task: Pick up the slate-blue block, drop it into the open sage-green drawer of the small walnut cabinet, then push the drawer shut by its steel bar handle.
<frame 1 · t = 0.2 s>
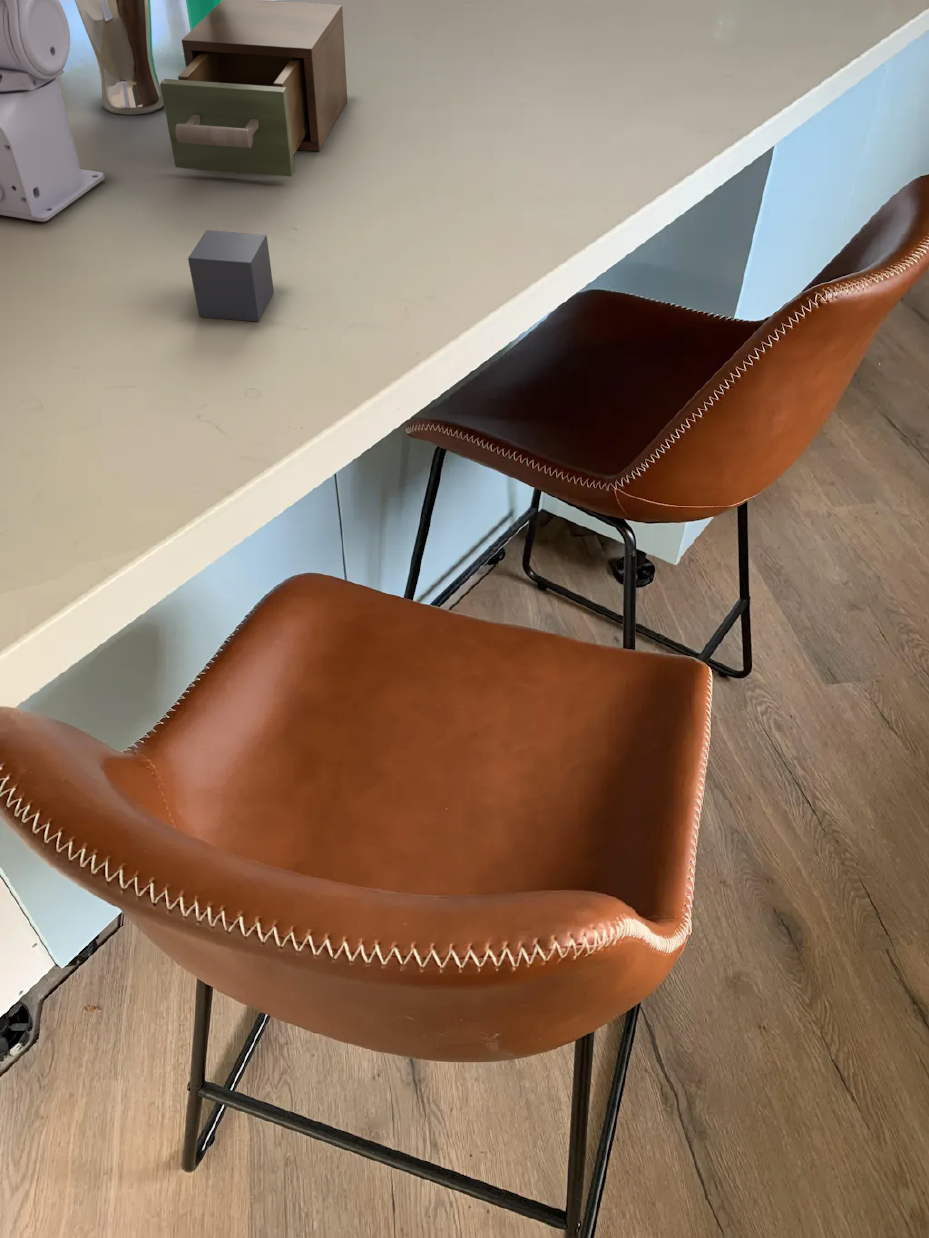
candle: (224, 67, 105), on the countertop
beige cup: (135, 106, 96), on the countertop
block: (237, 304, 69), on the countertop
drawer: (240, 113, 84), point 4 cm above the countertop, slide at 7.0 cm
cabinet: (276, 120, 94), on the countertop
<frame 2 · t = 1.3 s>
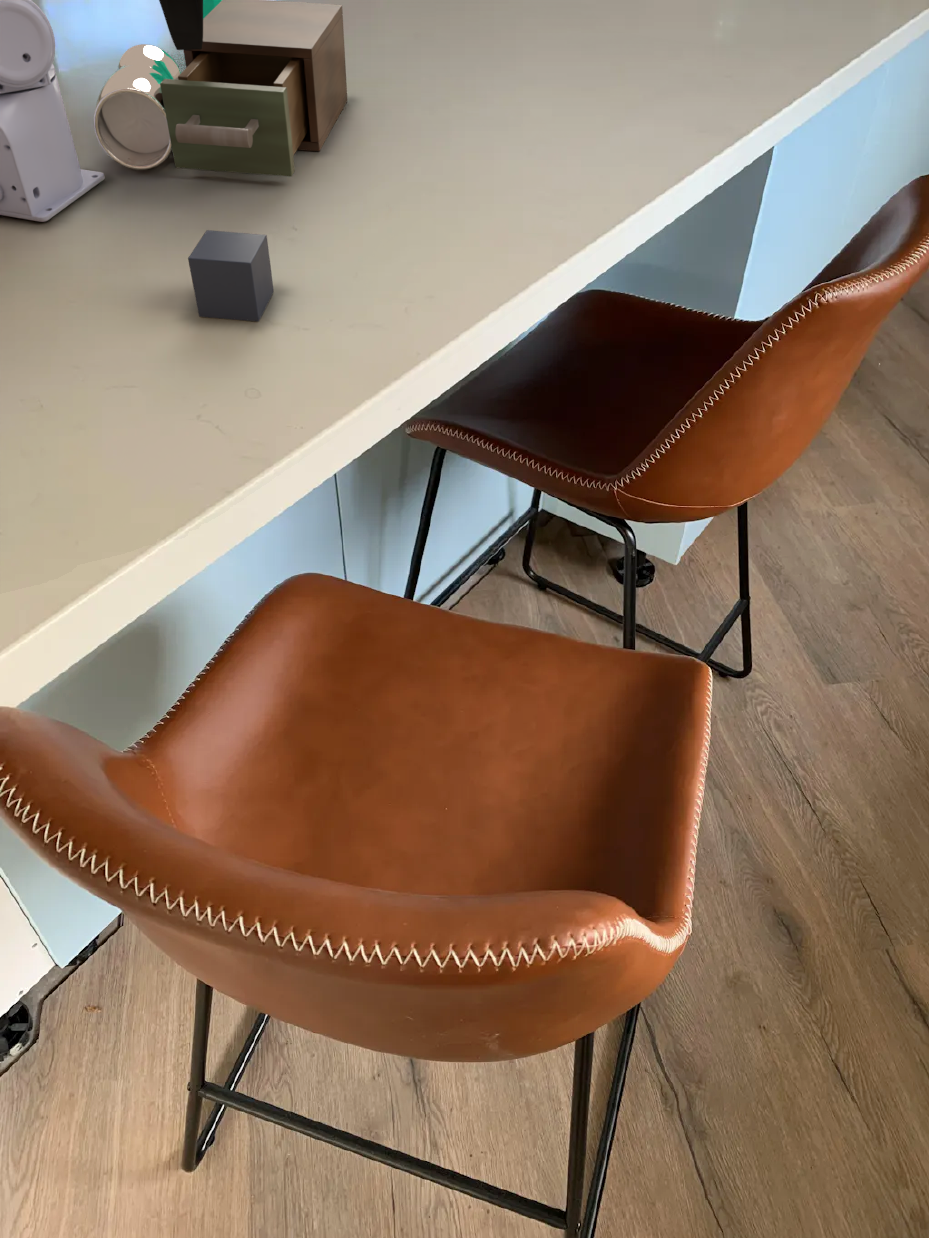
hand: (187, 34, 81), 10 cm above the countertop, tool pointing down, fingers open, 7 cm apart
beige cup: (150, 78, 93), point 3 cm above the countertop, touching drawer
drawer: (240, 113, 84), point 4 cm above the countertop, slide at 7.0 cm, touching beige cup
everything else where it was.
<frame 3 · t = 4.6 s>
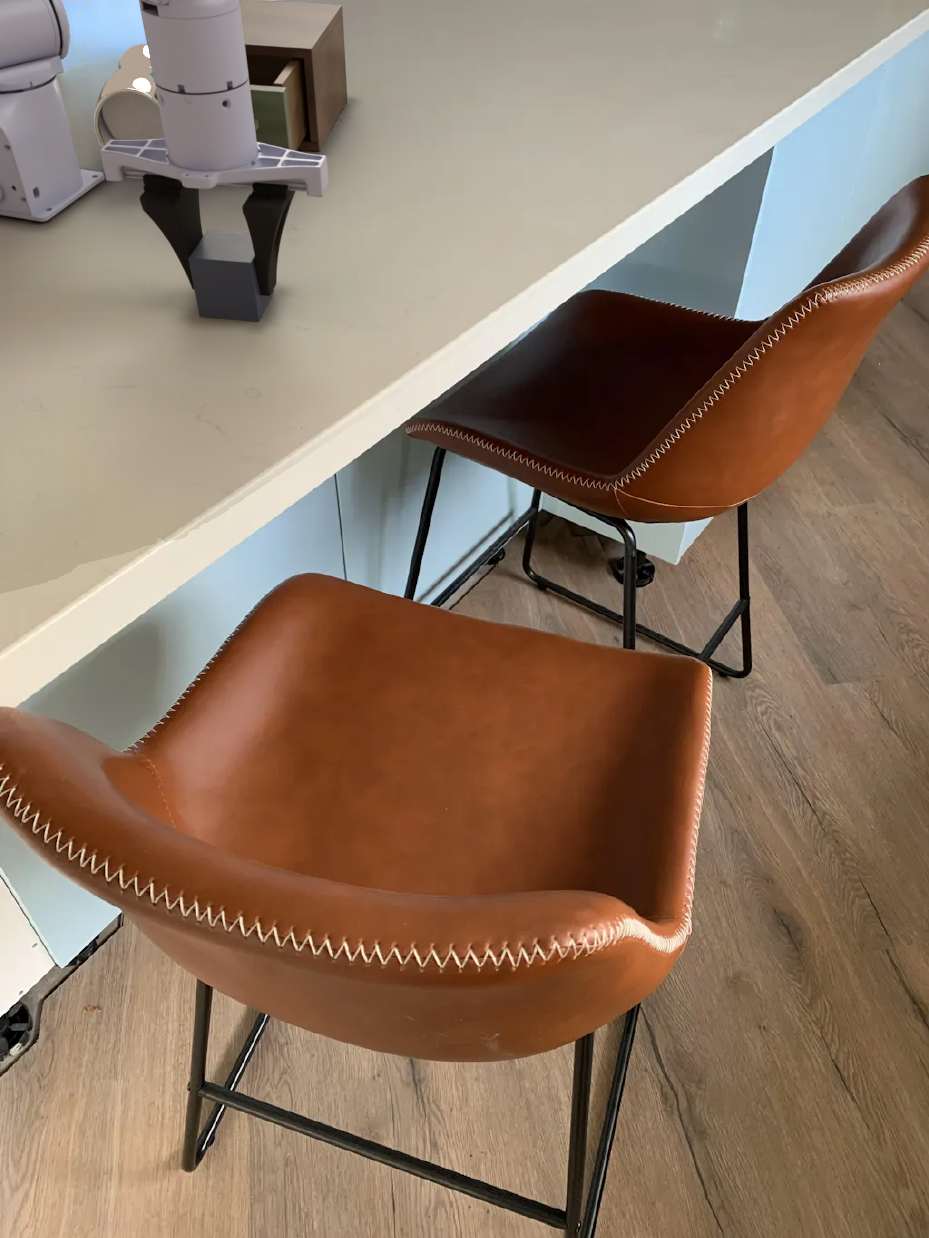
hand: (234, 286, 68), 1 cm above the countertop, tool pointing down, fingers closed on block, 4 cm apart
block: (237, 304, 69), on the countertop, touching gripper
everything else where it was.
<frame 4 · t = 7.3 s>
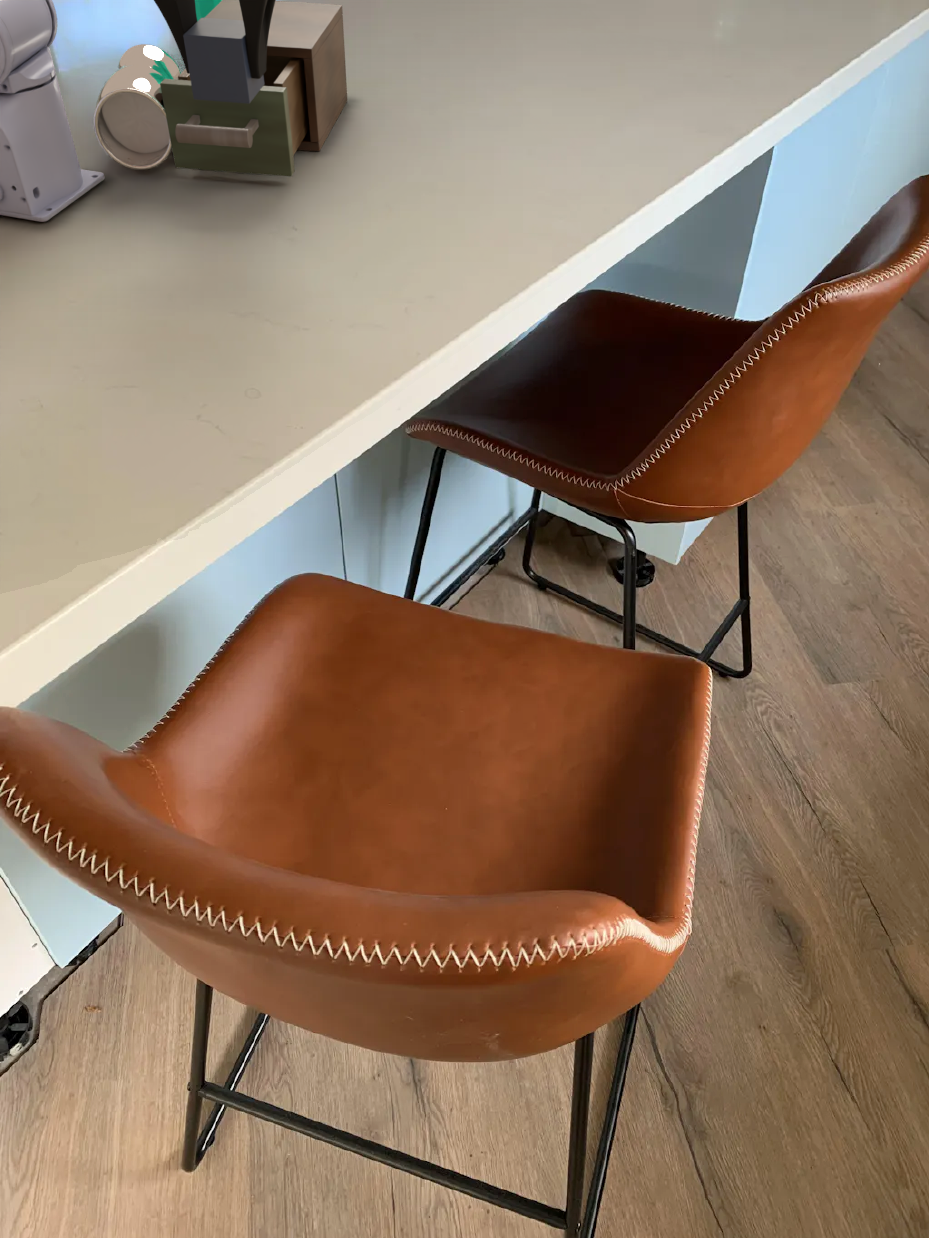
hand: (226, 72, 73), 10 cm above the countertop, tool pointing down, fingers closed on block, 4 cm apart
block: (229, 92, 74), point 9 cm above the countertop, touching gripper
everything else where it was.
when the fingers open (7 cm above the countertop, at t = 10.2 s): block stays where it is, resting on drawer.
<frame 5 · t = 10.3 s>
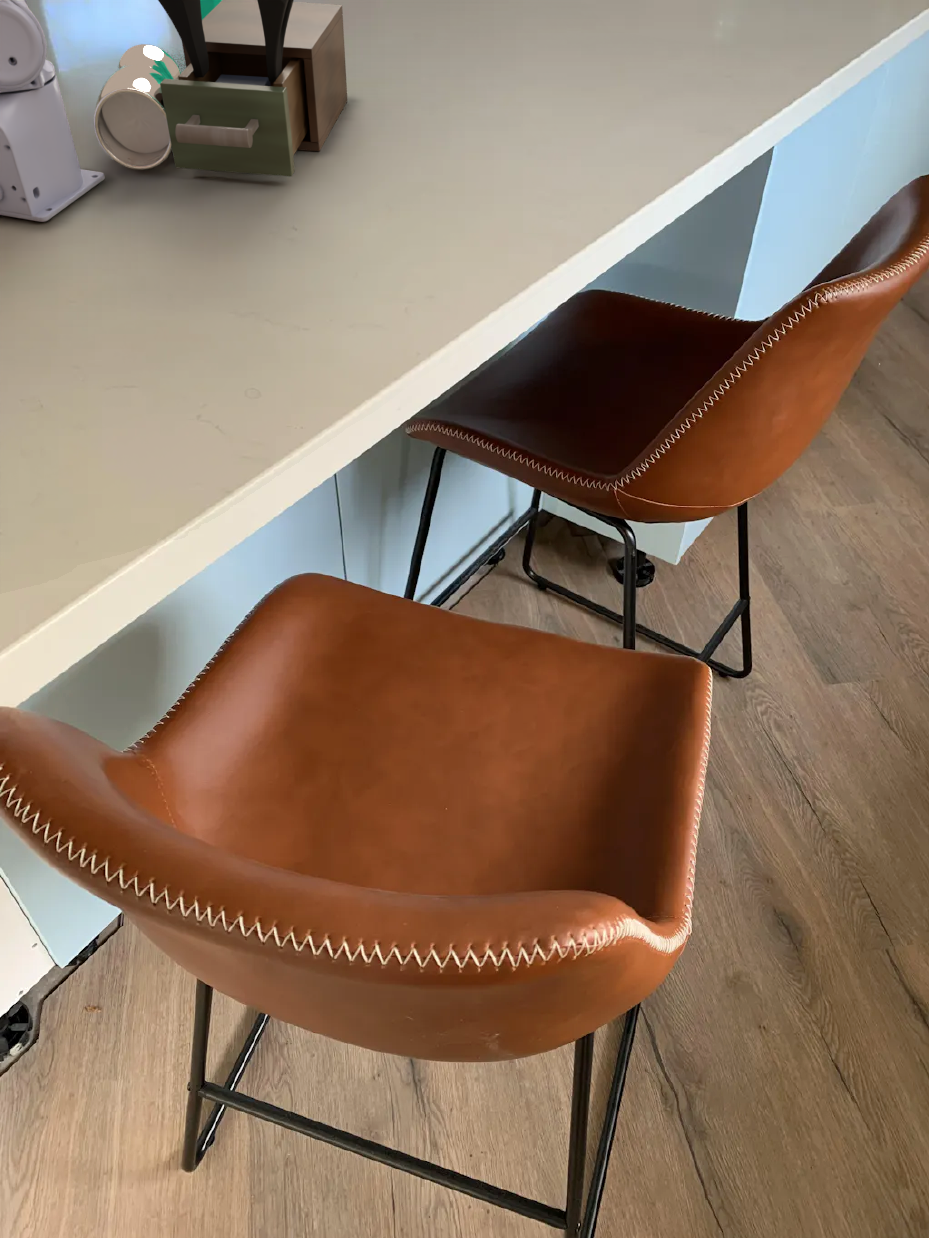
hand: (238, 76, 82), 7 cm above the countertop, tool pointing down, fingers open, 6 cm apart
block: (246, 137, 86), point 2 cm above the countertop, touching drawer
drawer: (240, 113, 84), point 4 cm above the countertop, slide at 7.0 cm, touching beige cup, block, gripper
everything else where it was.
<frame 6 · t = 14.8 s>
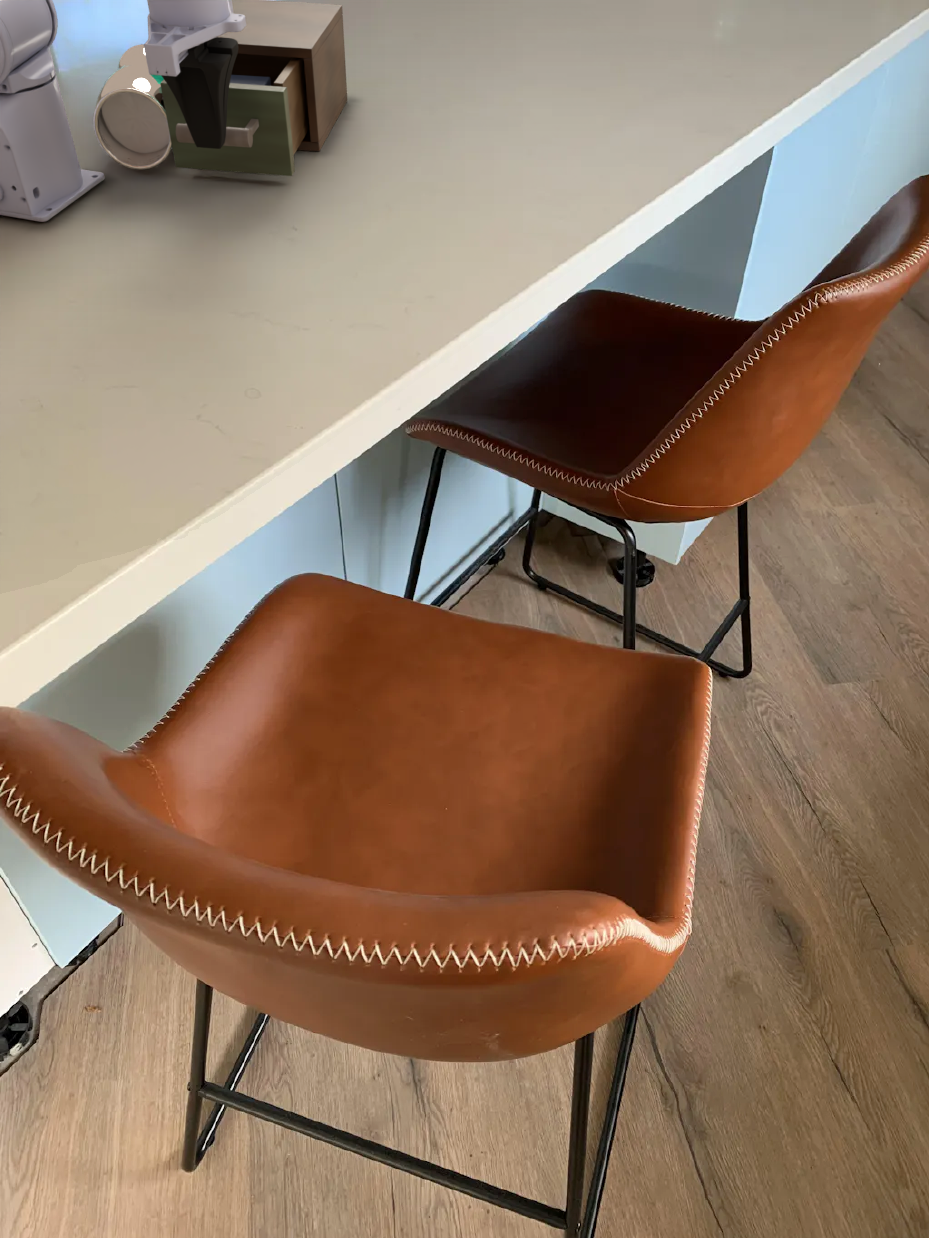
hand: (210, 145, 77), 5 cm above the countertop, tool pointing down, fingers closed
beige cup: (150, 78, 93), point 3 cm above the countertop
drawer: (241, 113, 84), point 4 cm above the countertop, slide at 6.9 cm, touching block, gripper
everything else where it was.
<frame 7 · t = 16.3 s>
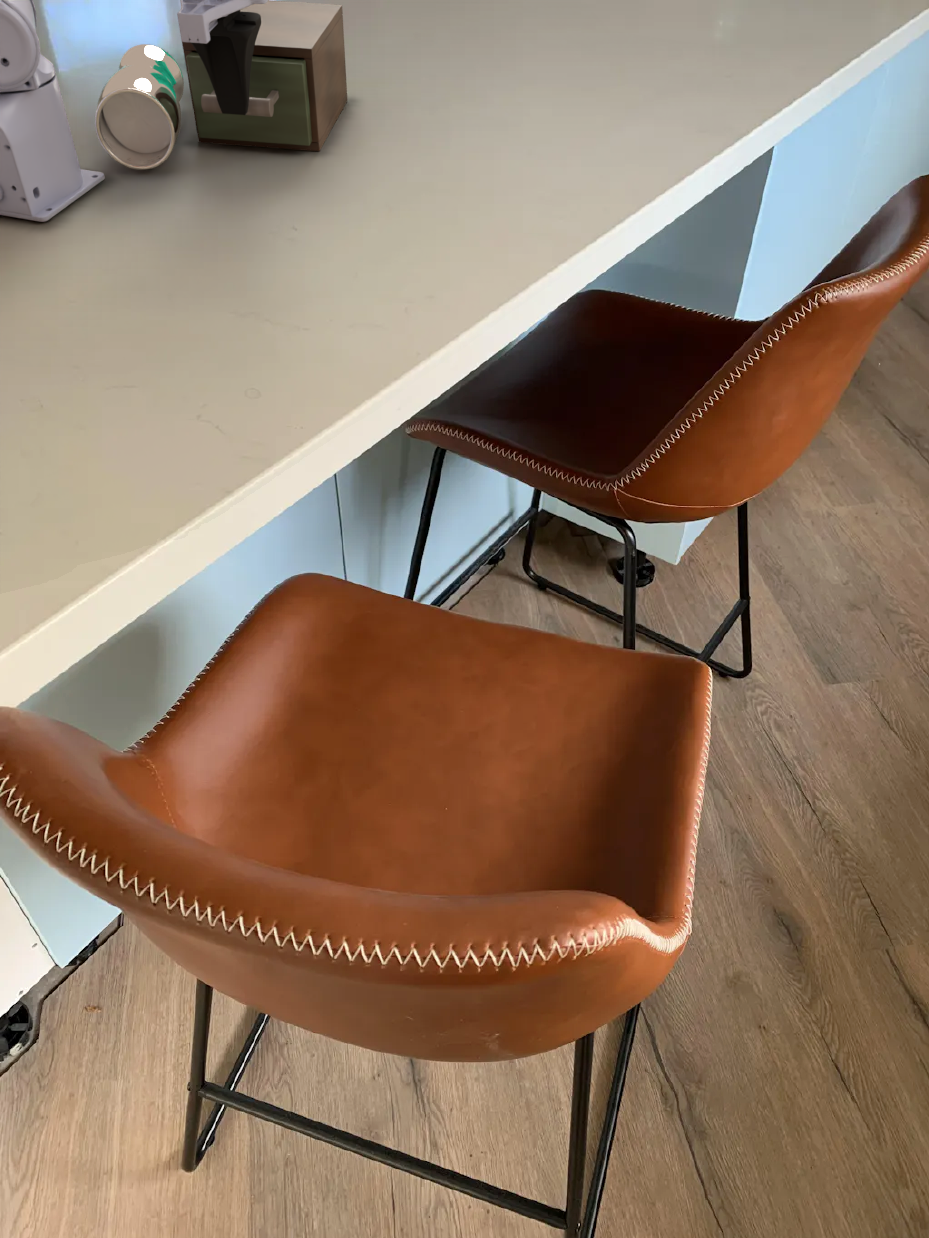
hand: (235, 112, 82), 5 cm above the countertop, tool pointing down, fingers closed, pressing on drawer
block: (266, 109, 91), point 2 cm above the countertop, touching drawer
drawer: (261, 86, 88), point 4 cm above the countertop, slide at 0.0 cm, touching block, cabinet, gripper
everything else where it was.
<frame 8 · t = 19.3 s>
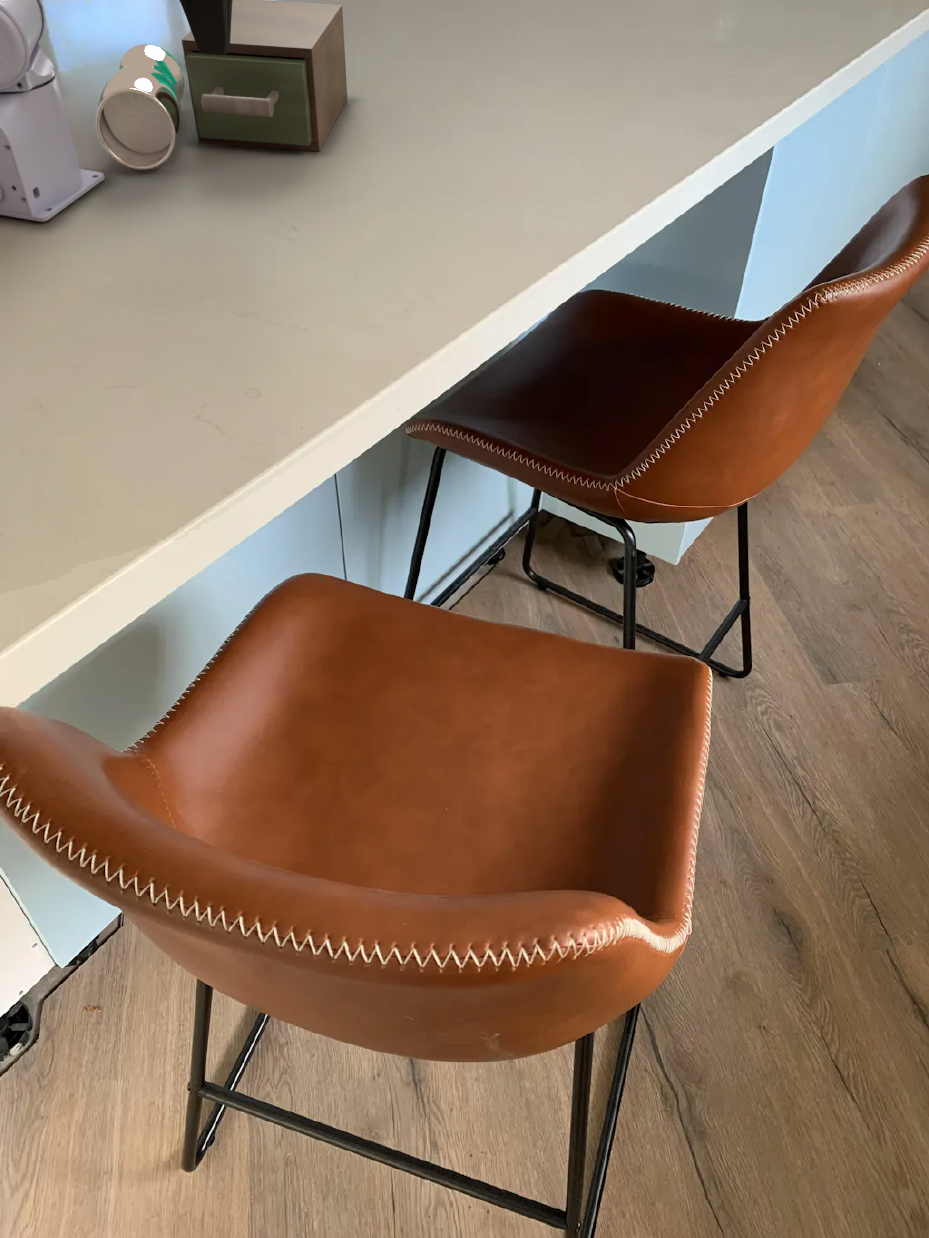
hand: (214, 51, 76), 10 cm above the countertop, tool pointing down, fingers closed
drawer: (261, 86, 88), point 4 cm above the countertop, slide at 0.0 cm, touching block, cabinet
everything else where it was.
at the end: block inside the target area in the cabinet (2.9 cm from its centre), point 2.0 cm above the cabinet's base; drawer slide at 0.0 cm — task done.
